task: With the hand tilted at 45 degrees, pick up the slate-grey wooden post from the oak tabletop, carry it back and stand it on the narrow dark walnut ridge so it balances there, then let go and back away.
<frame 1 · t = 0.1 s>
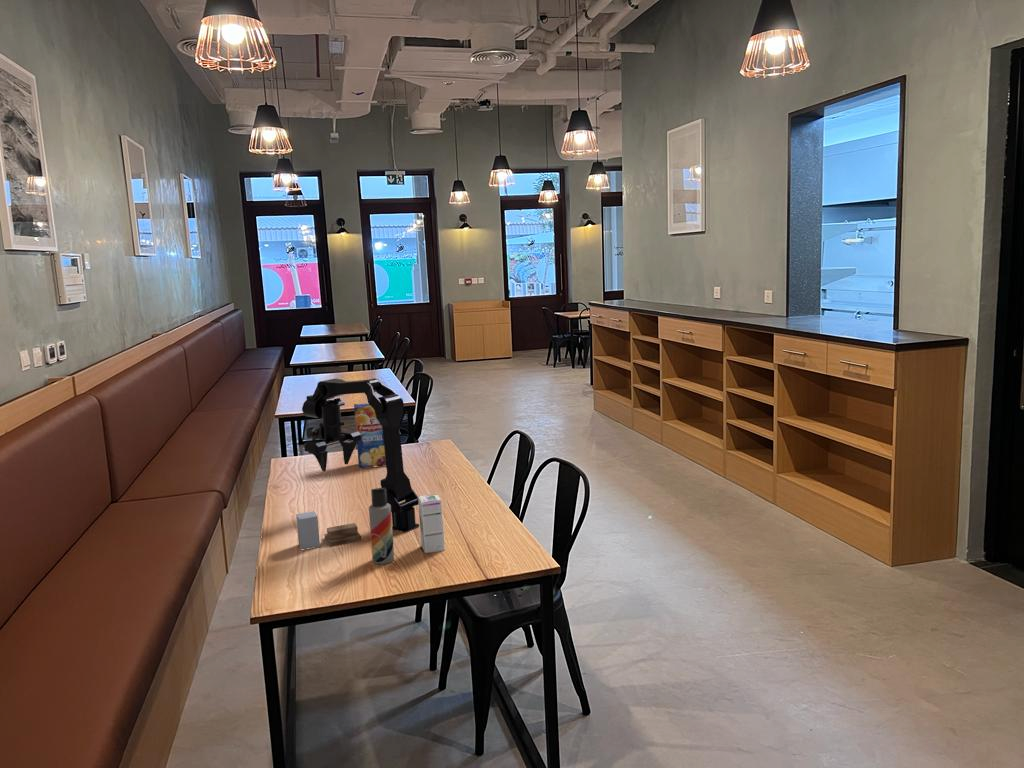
hand: (335, 467, 235), 15 cm above the table, tool pointing down, fingers open, 9 cm apart
slate post: (309, 545, 210), on the table
walnut ridge: (343, 539, 214), on the table
syrup box: (432, 549, 205), on the table
juice carton: (374, 465, 292), on the table
lotion bottle: (383, 561, 198), on the table
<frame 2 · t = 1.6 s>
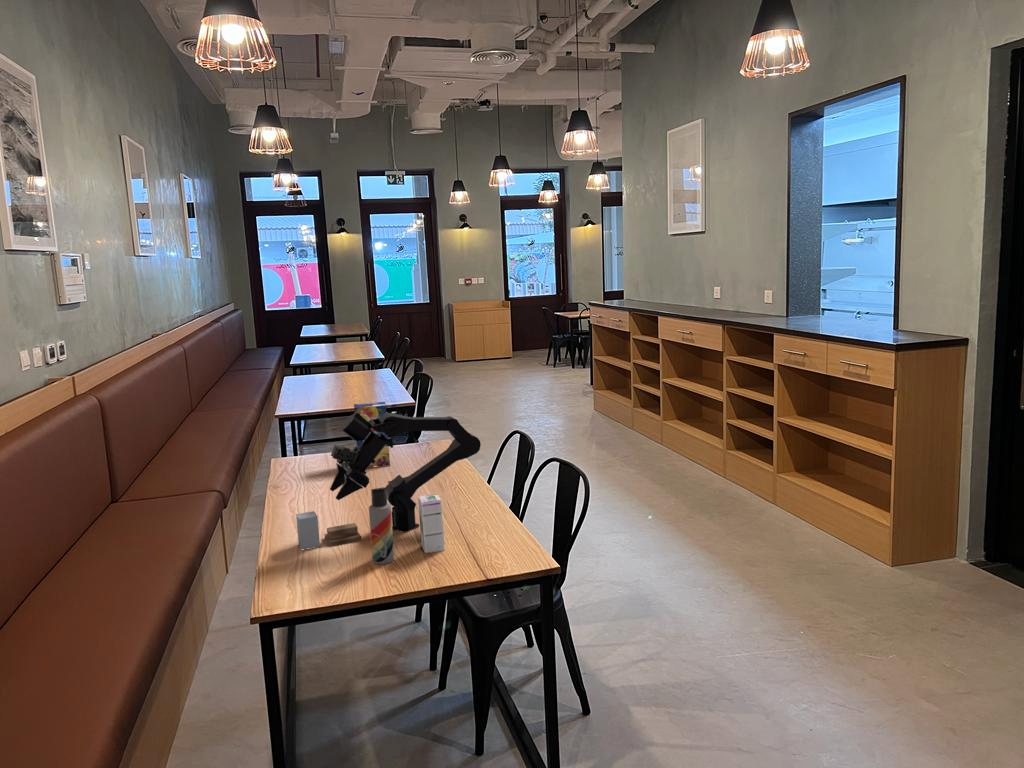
hand: (334, 494, 212), 13 cm above the table, tool tilted 45°, fingers open, 9 cm apart
nothing on the table moved.
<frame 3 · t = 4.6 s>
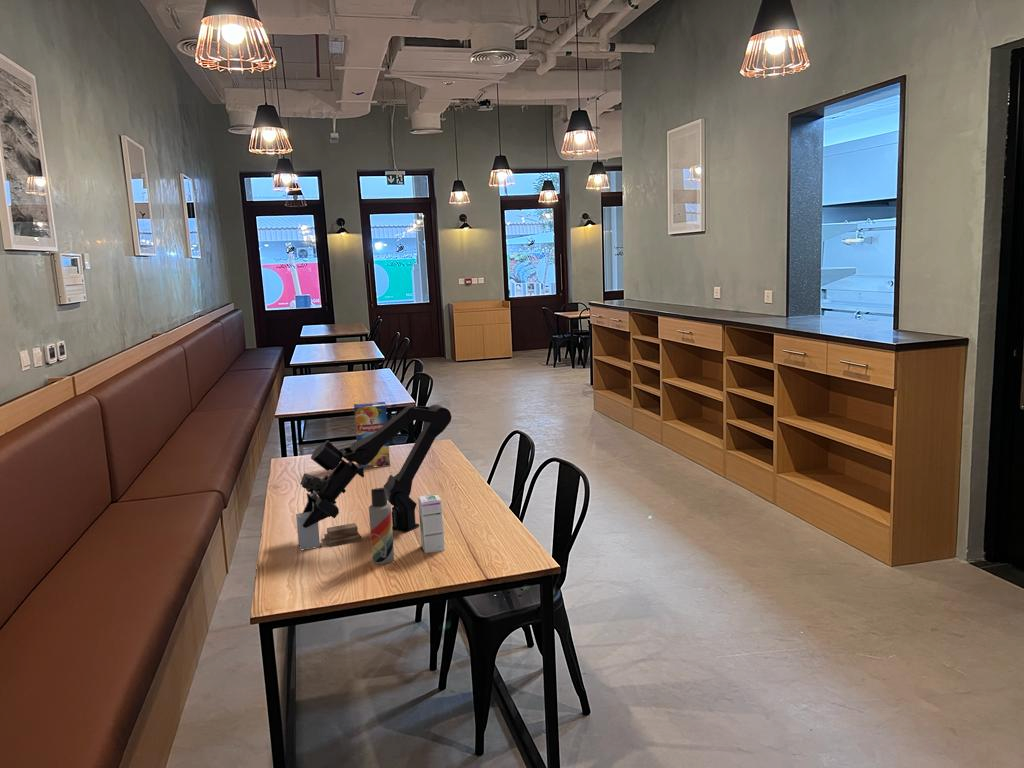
hand: (302, 524, 209), 7 cm above the table, tool tilted 45°, fingers closed on slate post, 5 cm apart
slate post: (309, 545, 210), on the table, touching gripper
everything else where it was.
when the fingers open (11 cm above the table, at t = 8.4 s): slate post stays where it is, resting on walnut ridge.
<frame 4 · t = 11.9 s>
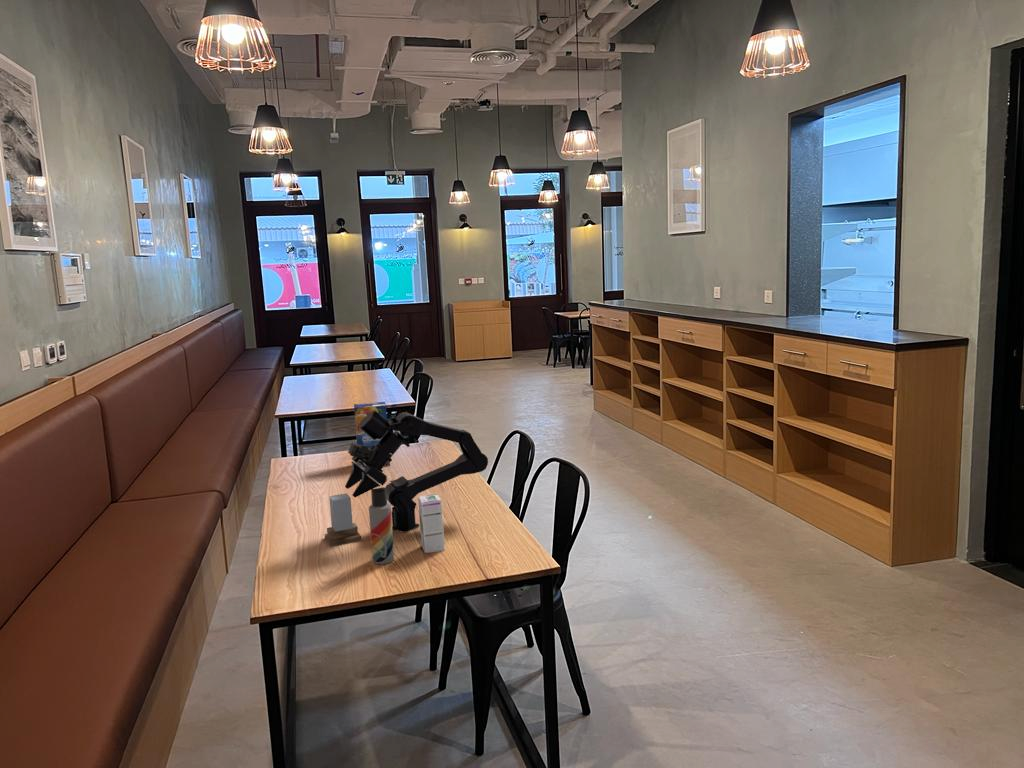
hand: (349, 492, 213), 14 cm above the table, tool tilted 45°, fingers open, 9 cm apart
slate post: (342, 527, 214), point 4 cm above the table, touching walnut ridge
everything else where it was.
at the end: slate post 0.0 cm off-centre on the walnut ridge, point 3.6 cm above the walnut ridge's base; slate post tilted 0°; slate post touching walnut ridge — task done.
